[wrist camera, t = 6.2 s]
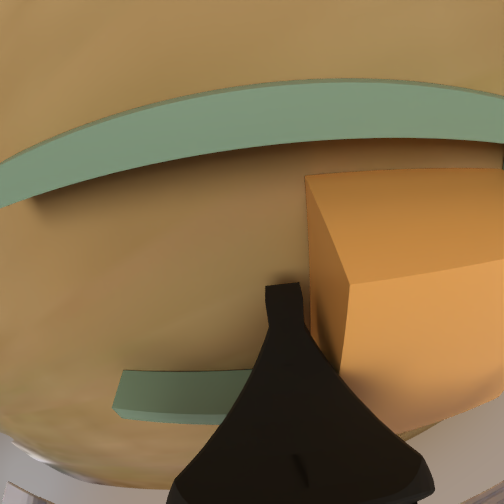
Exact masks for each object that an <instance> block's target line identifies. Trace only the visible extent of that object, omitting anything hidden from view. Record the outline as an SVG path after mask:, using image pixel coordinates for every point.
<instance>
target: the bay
mask: <svg viewBox="0 0 504 504" xmlns="http://www.w3.org/2000/svg"><path fill="white" fill-rule="evenodd" d="M356 138H439V139H458V140H473V141H484V142H495V143H504V96H500V95H496V94H492V93H487V92H482V91H477V90H472V89H467V88H461V87H455V86H448V85H441V84H433V83H425V82H415V81H403V80H388V79H359V78H338V79H308V80H293V81H280V82H270V83H261V84H253V85H245V86H238V87H231V88H225V89H219V90H213V91H207V92H202V93H197V94H192V95H187V96H183V97H178V98H174V99H169V100H165V101H161V102H157V103H153V104H149V105H146V106H142V107H138V108H135V109H131V110H128V111H125V112H121V113H118V114H115V115H112V116H109V117H106V118H103V119H100V120H97V121H94V122H91V123H88V124H85V125H83V126H80V127H77V128H75V129H72V130H69V131H67V132H64V133H62V134H59V135H57V136H55V137H52V138H50V139H48V140H45V141H43V142H41V143H38V144H36V145H34V146H32V147H30V148H28V149H25V150H23V151H21V152H19V153H17V154H15V155H13V156H11V157H10V158H8V159H6V160H4V161H3V162H1V163H0V208H2V207H5V206H7V205H10V204H13V203H16V202H18V201H21V200H24V199H27V198H30V197H33V196H36V195H39V194H42V193H45V192H48V191H51V190H54V189H58V188H61V187H64V186H68V185H71V184H74V183H78V182H81V181H85V180H89V179H92V178H96V177H100V176H103V175H107V174H111V173H115V172H119V171H124V170H128V169H132V168H136V167H141V166H145V165H150V164H155V163H159V162H164V161H169V160H174V159H180V158H185V157H191V156H196V155H202V154H208V153H214V152H221V151H227V150H234V149H241V148H249V147H257V146H265V145H274V144H284V143H294V142H306V141H319V140H335V139H356ZM503 170H504V163H503ZM251 371H252V369H251V370H234V371H207V372H154V371H128V370H123V373H122V376H121V379H120V383H119V386H118V389H117V392H116V396H115V399H114V402H113V406H112V409H113V410H114V411H115V412H116V413H117V414H118V415H119V416H120V417H121V418H124V419H132V420H141V421H151V422H163V423H179V424H208V425H220V424H221V423H222V422H223V420H224V419H225V417H226V416H227V414H228V412H229V411H230V409H231V408H232V406H233V404H234V403H235V401H236V399H237V398H238V396H239V394H240V393H241V391H242V389H243V387H244V385H245V383H246V381H247V379H248V378H249V376H250V373H251Z"/></svg>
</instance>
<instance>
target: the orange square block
mask: <svg viewBox="0 0 504 504" xmlns="http://www.w3.org/2000/svg"><path fill="white" fill-rule="evenodd" d="M305 188H306V204H307V221H308V242H309V268H310V318H311V336H312V337H313V339H314V341H315V342H316V344H317V345H318V347H319V348H320V350H321V351H322V353H323V354H324V356H325V357H326V359H327V360H328V361H329V363H330V364H331V365H332V367H333V368H334V369H335V371H336V372H337V373H338V375H339V376H340V377H341V378H342V380H343V381H344V382H345V383H346V384H347V386H348V387H349V388H350V389H351V390H352V391H353V393H354V394H355V395H356V396H357V397H358V398H359V399H360V400H361V401H362V402H363V403H364V404H365V405H366V406H367V407H368V408H369V409H370V410H371V411H372V412H373V414H374V415H375V416H376V417H377V418H378V419H379V420H381V421H382V422H383V423H384V424H385V425H386V426H387V427H388V428H389V429H390V430H391V431H393V432H394V433H395V434H399V433H403V432H406V431H410V430H413V429H417V428H420V427H423V426H426V425H429V424H432V423H435V422H438V421H441V420H444V419H447V418H449V417H452V416H455V415H458V414H460V413H463V412H465V411H468V410H470V409H472V408H475V407H477V406H480V405H482V404H484V403H486V402H489V401H491V400H493V399H495V398H497V397H499V396H500V394H501V393H502V392H503V391H504V170H502V169H484V168H425V169H393V170H373V171H356V172H342V173H329V174H318V175H307V176H305Z"/></svg>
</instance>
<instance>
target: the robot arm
mask: <svg viewBox="0 0 504 504" xmlns="http://www.w3.org/2000/svg"><path fill="white" fill-rule="evenodd" d="M265 303H266V310H267V316H268V323H269V328H268V332H267V335H266V338H265V340H264V343H263V346H262V348H261V351H260V353H259V356H258V358H257V360H256V363H255V365H254V367H253V369H252V371H251V373H250V376H249V378H248V379H247V381H246V383H245V385H244V387H243V389H242V391H241V393H240V394H239V396H238V398H237V399H236V401H235V403H234V404H233V406H232V408H231V409H230V411H229V412H228V414H227V416H226V417H225V419H224V420H223V422H222V423H221V424H220V426H219V427H218V428H217V430H216V431H215V432H214V434H213V435H212V436H211V438H210V439H209V440H208V442H207V443H206V444H205V446H204V447H203V448H202V449H201V451H200V452H199V453H198V454H197V455H196V456H195V458H194V459H193V460H192V461H191V462H190V463H189V464H188V465H187V466H186V468H185V469H184V470H183V471H182V472H181V473H180V474H179V475H178V476H177V477H176V478H175V480H174V482H173V484H172V486H171V489H170V492H169V495H168V498H167V502H166V504H417V501H419V500H422V499H424V498H426V497H428V496H429V495H431V494H433V492H434V491H435V487H434V481H433V478H432V475H431V473H430V470H429V468H428V466H427V464H426V462H425V460H424V458H423V456H422V455H421V454H420V453H418V452H417V451H416V450H414V449H413V448H412V447H411V446H409V445H408V444H407V443H406V442H404V441H403V440H402V439H401V438H400V437H398V436H397V435H396V434H395V433H394V432H393V431H391V430H390V429H389V428H388V427H387V426H386V425H385V424H384V423H383V422H382V421H381V420H379V419H378V418H377V417H376V416H375V415H374V414H373V412H372V411H371V410H370V409H369V408H368V407H367V406H366V405H365V404H364V403H363V402H362V401H361V400H360V399H359V398H358V397H357V396H356V395H355V394H354V393H353V391H352V390H351V389H350V388H349V387H348V386H347V384H346V383H345V382H344V381H343V380H342V378H341V377H340V376H339V375H338V373H337V372H336V371H335V369H334V368H333V367H332V365H331V364H330V363H329V361H328V360H327V359H326V357H325V356H324V354H323V353H322V351H321V350H320V348H319V347H318V345H317V344H316V342H315V341H314V339H313V337H312V336H311V334H310V332H309V331H308V329H307V327H306V325H305V324H304V315H303V297H302V292H301V288H300V284H299V282H297V283H289V284H279V285H270V286H265ZM2 504H54V503H52V502H50V501H48V500H45V499H43V498H41V497H38V496H35V495H33V494H31V493H30V492H28V491H26V490H24V489H22V488H20V487H18V486H17V485H15V484H13V483H11V482H7V484H6V488H5V492H4V496H3V500H2ZM460 504H504V481H502V482H500V483H499V484H497V485H495V486H493V487H492V488H490V489H488V490H486V491H484V492H482V493H481V494H478V495H476V496H474V497H472V498H470V499H469V500H466V501H464V502H462V503H460Z"/></svg>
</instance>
